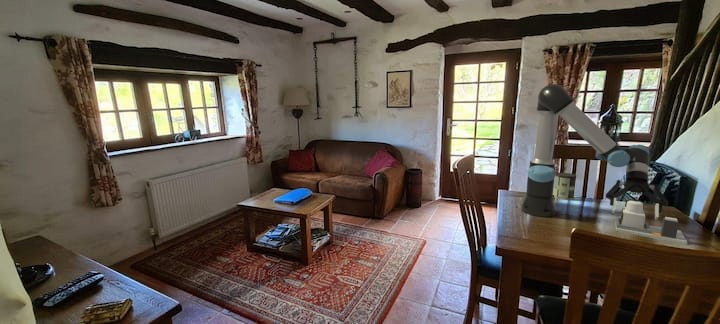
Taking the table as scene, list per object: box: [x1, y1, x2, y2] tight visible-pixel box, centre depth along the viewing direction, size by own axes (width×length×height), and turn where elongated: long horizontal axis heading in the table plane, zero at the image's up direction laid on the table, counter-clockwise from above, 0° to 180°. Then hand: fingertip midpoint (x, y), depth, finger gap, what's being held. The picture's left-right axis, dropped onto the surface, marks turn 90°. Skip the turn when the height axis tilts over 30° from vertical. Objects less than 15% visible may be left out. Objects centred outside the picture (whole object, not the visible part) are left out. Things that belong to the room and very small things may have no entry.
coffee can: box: [553, 172, 577, 201], centre depth 175 cm, size 10×10×14 cm
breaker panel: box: [614, 216, 688, 245], centre depth 127 cm, size 21×13×3 cm, turn 51°
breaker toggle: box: [661, 216, 680, 239], centre depth 120 cm, size 4×3×8 cm
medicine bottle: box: [620, 198, 646, 229], centre depth 129 cm, size 7×7×12 cm
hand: (634, 215), depth 127 cm, fingers open, 13 cm apart
